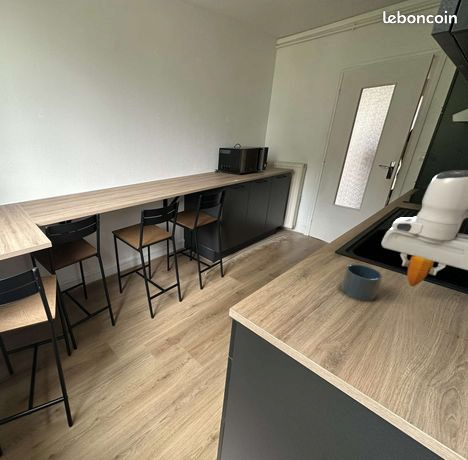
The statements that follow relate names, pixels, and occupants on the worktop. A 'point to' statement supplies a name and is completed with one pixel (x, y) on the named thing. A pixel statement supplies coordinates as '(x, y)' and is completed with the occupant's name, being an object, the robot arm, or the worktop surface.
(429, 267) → the carrot
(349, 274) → the tumbler
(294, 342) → the worktop surface
